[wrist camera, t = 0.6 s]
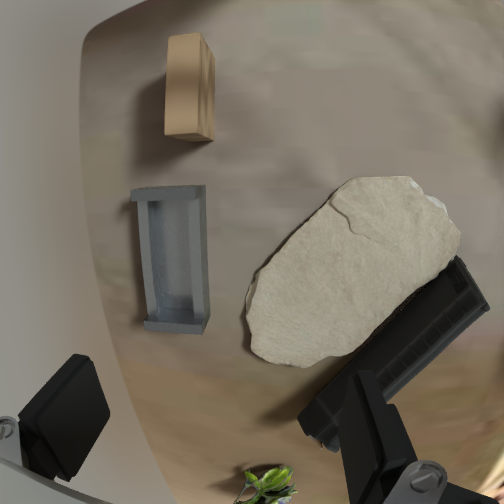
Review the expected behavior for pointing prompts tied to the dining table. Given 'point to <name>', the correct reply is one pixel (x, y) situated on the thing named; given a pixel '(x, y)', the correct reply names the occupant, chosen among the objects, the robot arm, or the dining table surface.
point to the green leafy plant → (269, 487)
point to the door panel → (189, 89)
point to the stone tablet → (348, 270)
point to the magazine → (401, 347)
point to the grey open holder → (174, 257)
